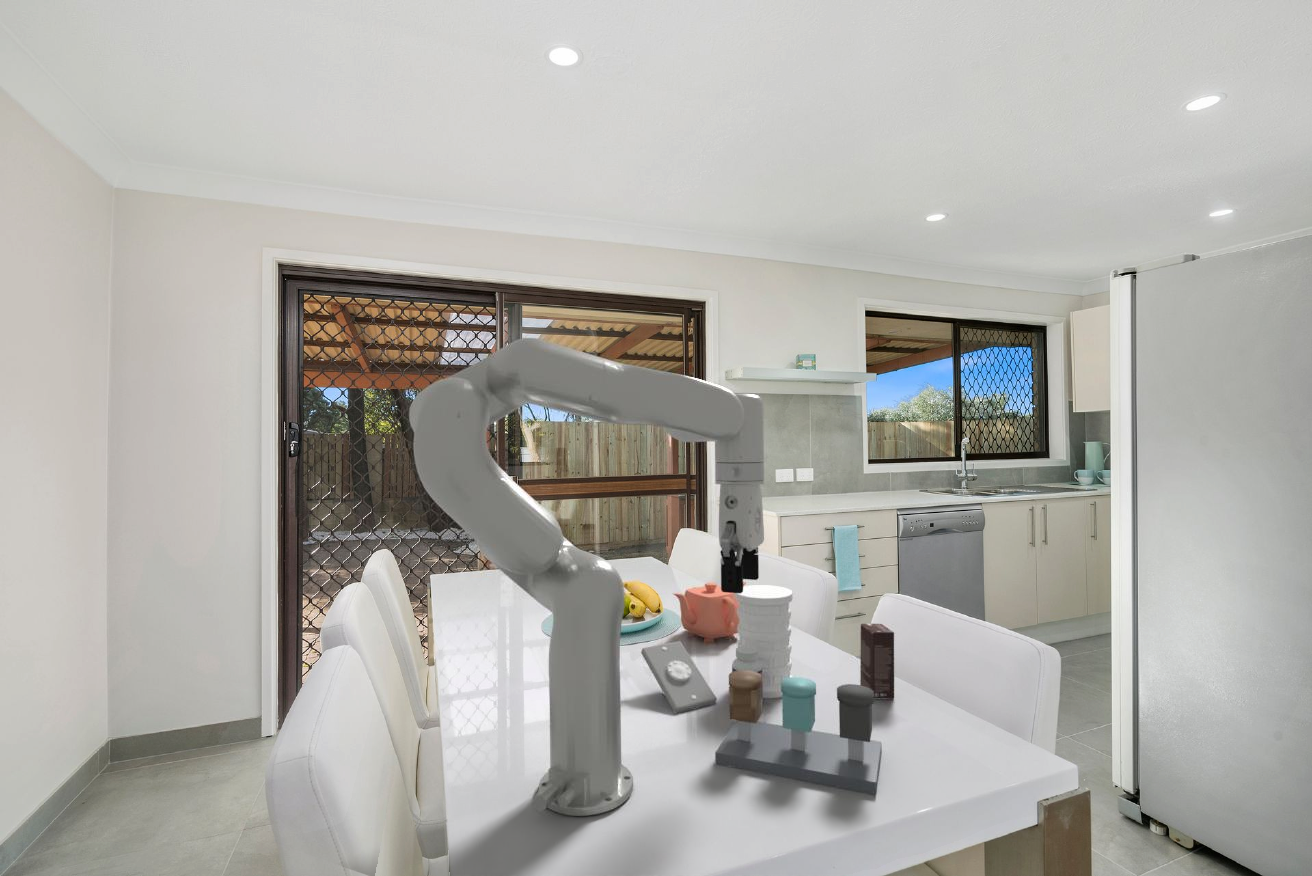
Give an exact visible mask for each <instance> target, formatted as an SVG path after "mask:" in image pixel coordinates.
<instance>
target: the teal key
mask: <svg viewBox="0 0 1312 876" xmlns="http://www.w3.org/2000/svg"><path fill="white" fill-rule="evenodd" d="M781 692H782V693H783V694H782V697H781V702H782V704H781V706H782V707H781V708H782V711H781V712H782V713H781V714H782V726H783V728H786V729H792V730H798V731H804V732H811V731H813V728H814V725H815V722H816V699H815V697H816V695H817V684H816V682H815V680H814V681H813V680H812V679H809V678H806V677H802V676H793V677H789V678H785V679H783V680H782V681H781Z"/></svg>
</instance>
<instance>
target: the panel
mask: <svg viewBox="0 0 1312 876" xmlns="http://www.w3.org/2000/svg"><path fill="white" fill-rule="evenodd" d="M882 747H883V746H882V741H879V740H873V739H872V740H871V739H870V742H865V741H859V740H853V739H847V738H841V737H840V734H836V733H830V732H829V733H828V732H824V731H823V732H822V731H817V730H812V731H811V732H804V731H798V730H792V729H786V728H783V724H782V725H780V724H774V723H769V722H762V721H757V722H756V723H750V722H744V721H737V720H735V722H734V723H733V725H732V727H731V728H730V729H729V731H728V733H727V734H726V735H725V737H724V739H722V741H721V743H720V745H719V746H718V747H717V749H716V751H715V752H714V753H715V756H714V757H715V761H714V762H715V764H717V765H722V766H727V767H732V768H738V769H742V770H746V771H752V772H758V773H764V774H768V775H774V776H779V777H783V778H790V779H794V780H800V781H804V782H810V783H815V784H819V785H820V784H821V785H823V786H824V785H825V786H828V787H829V786H830V787H834V788H835V787H836V788H840V789H845V790H851V791H856V792H861V793H866V794H870V795H877V792H878V791H877V790H878V784H879V776H880V768H881V761H882V752H883V751H882V750H883V749H882Z"/></svg>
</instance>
